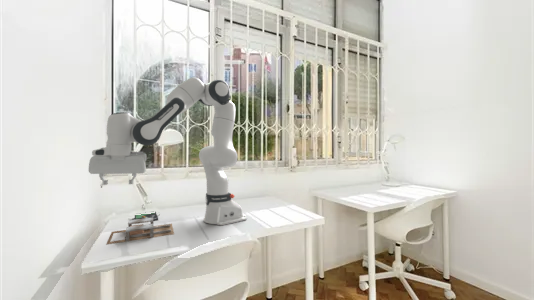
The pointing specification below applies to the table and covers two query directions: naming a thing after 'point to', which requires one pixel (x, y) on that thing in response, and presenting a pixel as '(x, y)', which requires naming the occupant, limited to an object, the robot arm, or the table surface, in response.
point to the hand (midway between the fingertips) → (118, 184)
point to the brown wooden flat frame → (148, 231)
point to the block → (136, 231)
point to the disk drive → (147, 216)
